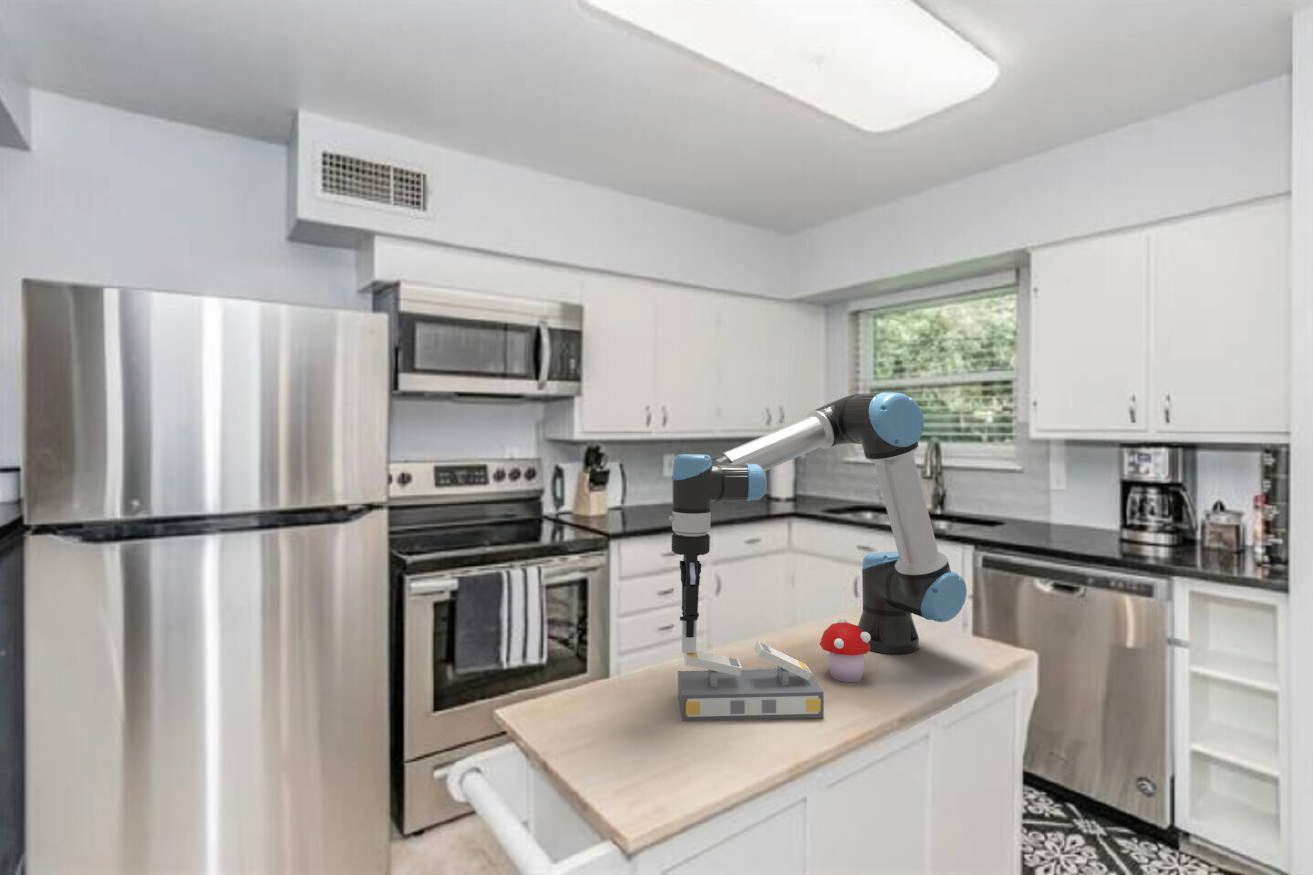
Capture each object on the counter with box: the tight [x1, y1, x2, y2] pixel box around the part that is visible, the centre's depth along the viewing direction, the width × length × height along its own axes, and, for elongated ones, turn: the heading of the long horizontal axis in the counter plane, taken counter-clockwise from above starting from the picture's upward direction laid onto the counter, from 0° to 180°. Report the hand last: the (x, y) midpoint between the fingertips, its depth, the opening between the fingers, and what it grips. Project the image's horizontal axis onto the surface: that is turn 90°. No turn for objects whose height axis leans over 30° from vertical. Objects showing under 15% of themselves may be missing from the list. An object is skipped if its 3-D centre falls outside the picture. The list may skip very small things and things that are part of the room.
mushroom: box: [819, 618, 871, 683], centre depth 147 cm, size 11×11×12 cm
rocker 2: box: [753, 641, 813, 681], centre depth 133 cm, size 11×5×2 cm, turn 93°
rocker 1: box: [683, 650, 743, 676], centre depth 132 cm, size 11×5×2 cm, turn 92°
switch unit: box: [677, 665, 825, 722], centre depth 132 cm, size 27×12×8 cm, turn 92°
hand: (688, 651), depth 132 cm, fingers closed
